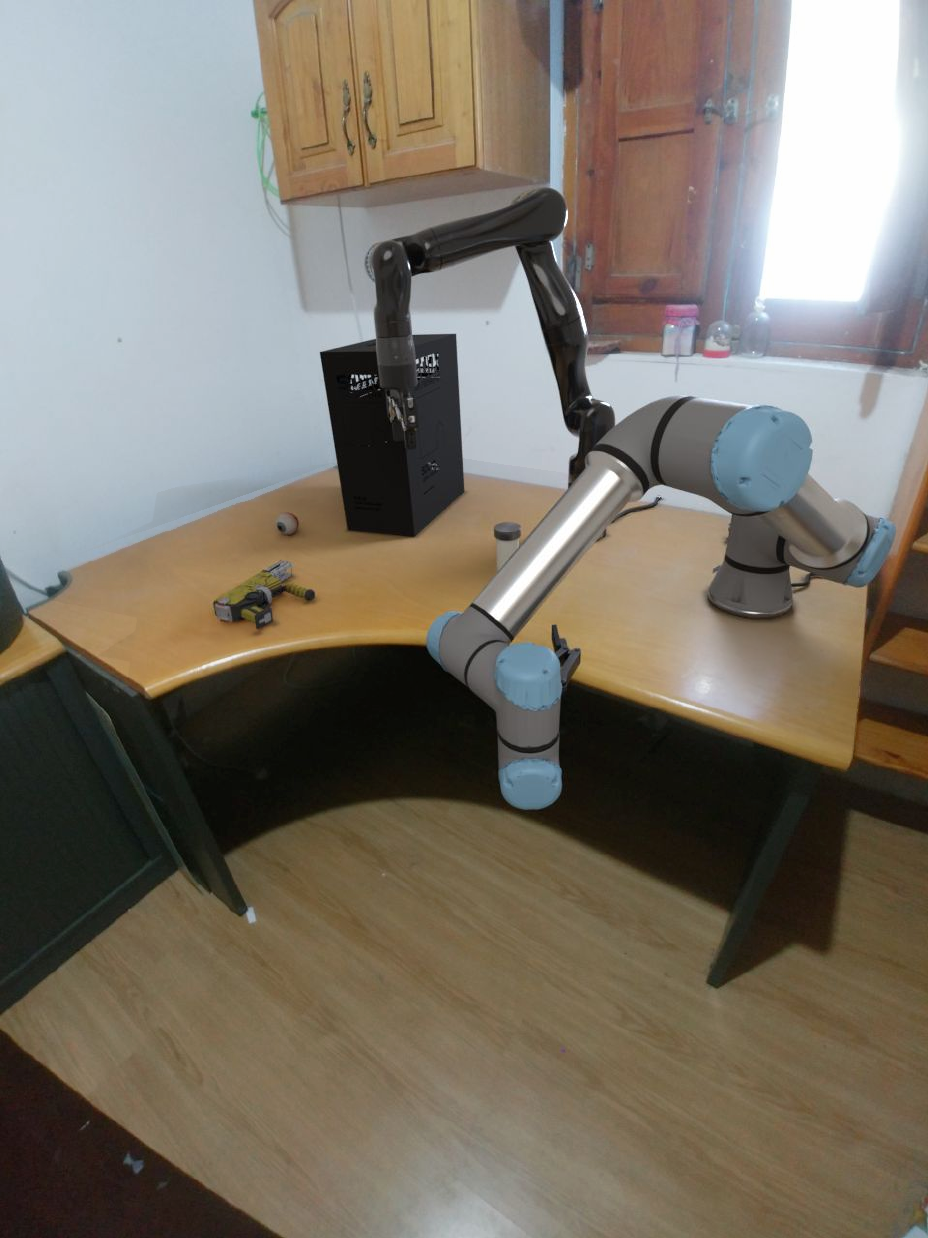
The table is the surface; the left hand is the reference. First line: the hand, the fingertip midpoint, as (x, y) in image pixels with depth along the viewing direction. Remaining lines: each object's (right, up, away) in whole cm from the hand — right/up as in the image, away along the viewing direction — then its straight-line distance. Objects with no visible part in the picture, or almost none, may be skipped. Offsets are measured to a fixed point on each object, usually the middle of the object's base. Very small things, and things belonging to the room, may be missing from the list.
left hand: (404, 444), depth 126 cm
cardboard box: (-4, -4, +51) cm, 52 cm away
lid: (+21, -19, -12) cm, 31 cm away
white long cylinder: (+22, -35, -3) cm, 41 cm away
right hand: (+21, -39, -23) cm, 50 cm away
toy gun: (-28, -33, +4) cm, 43 cm away
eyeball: (-35, -13, +39) cm, 55 cm away
